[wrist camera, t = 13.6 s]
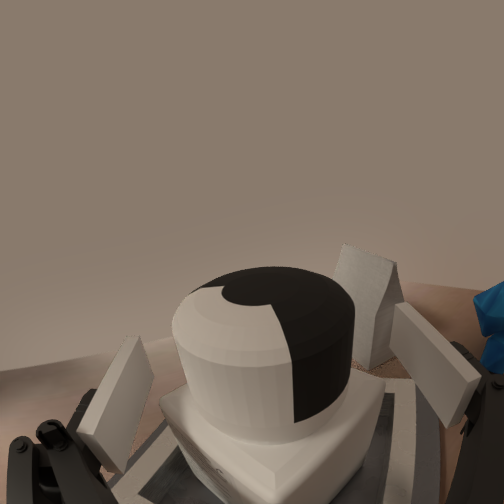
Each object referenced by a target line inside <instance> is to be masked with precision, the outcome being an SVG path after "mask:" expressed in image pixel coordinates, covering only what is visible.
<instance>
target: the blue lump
mask: <svg viewBox="0 0 504 504" xmlns="http://www.w3.org/2000/svg"><path fill="white" fill-rule="evenodd" d="M473 302H474V305H475V309H476V312H477V316H478V320H479V324H480V328H481V332H482V336H484V337H487V336H490V335H492V334H493V335H492V336H491V337H490V338H488V340H487V343H486V346H485V349H484V351H483V354H482V357H481V360H480V363H481V364H482V365H483V366H484V367H485V368H486V369H487V370H488V371H491V372H493V373H495V374H501V375H503V373H504V281H503V282H501V283H499V284H497V285H496V286H494V287H492V288H490V289H488V290H486V291H484V292H482V293H480V294H478V295H476V296H475V297H474V299H473Z"/></svg>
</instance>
